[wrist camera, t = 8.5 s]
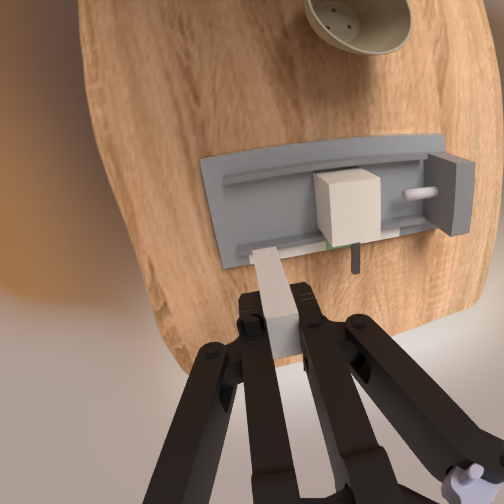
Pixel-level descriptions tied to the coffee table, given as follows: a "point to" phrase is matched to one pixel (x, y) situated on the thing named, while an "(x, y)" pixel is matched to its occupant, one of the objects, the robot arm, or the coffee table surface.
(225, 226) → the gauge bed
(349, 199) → the cream block
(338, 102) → the coffee table surface
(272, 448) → the robot arm
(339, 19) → the flower pot
